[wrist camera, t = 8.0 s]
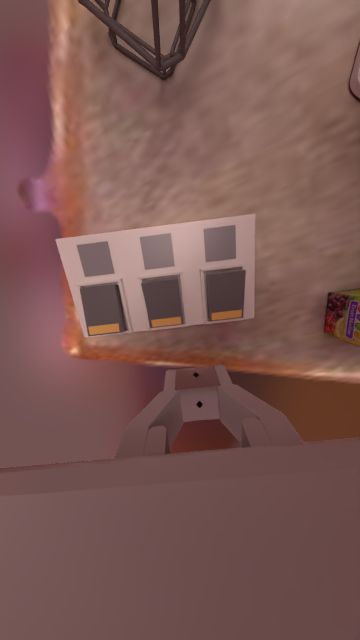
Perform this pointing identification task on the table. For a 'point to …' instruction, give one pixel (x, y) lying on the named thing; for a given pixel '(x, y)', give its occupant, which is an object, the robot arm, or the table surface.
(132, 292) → the rocker switch panel
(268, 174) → the table surface
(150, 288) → the panel
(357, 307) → the snack box
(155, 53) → the geometric lantern
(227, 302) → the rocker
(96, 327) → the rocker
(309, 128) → the table surface
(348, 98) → the table surface
